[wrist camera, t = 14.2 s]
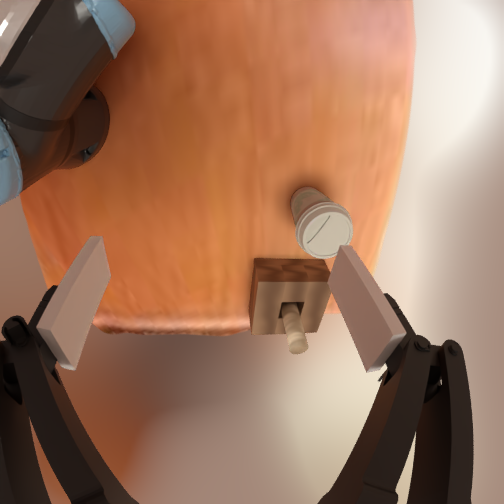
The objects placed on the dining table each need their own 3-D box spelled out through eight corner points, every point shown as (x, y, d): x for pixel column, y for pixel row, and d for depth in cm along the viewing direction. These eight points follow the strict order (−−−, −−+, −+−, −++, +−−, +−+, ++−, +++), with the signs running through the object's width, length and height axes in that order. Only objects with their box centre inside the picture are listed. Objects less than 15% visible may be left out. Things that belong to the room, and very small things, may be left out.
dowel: (276, 298, 55) (287, 354, 44) (279, 287, 53) (291, 343, 42) (291, 299, 56) (305, 353, 44) (294, 287, 54) (310, 342, 42)
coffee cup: (320, 171, 43) (348, 198, 33) (334, 212, 48) (361, 247, 38) (274, 191, 45) (289, 224, 35) (292, 231, 49) (309, 270, 39)
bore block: (248, 310, 59) (251, 334, 53) (254, 258, 52) (258, 281, 46) (309, 309, 61) (316, 332, 55) (323, 259, 53) (334, 281, 47)
